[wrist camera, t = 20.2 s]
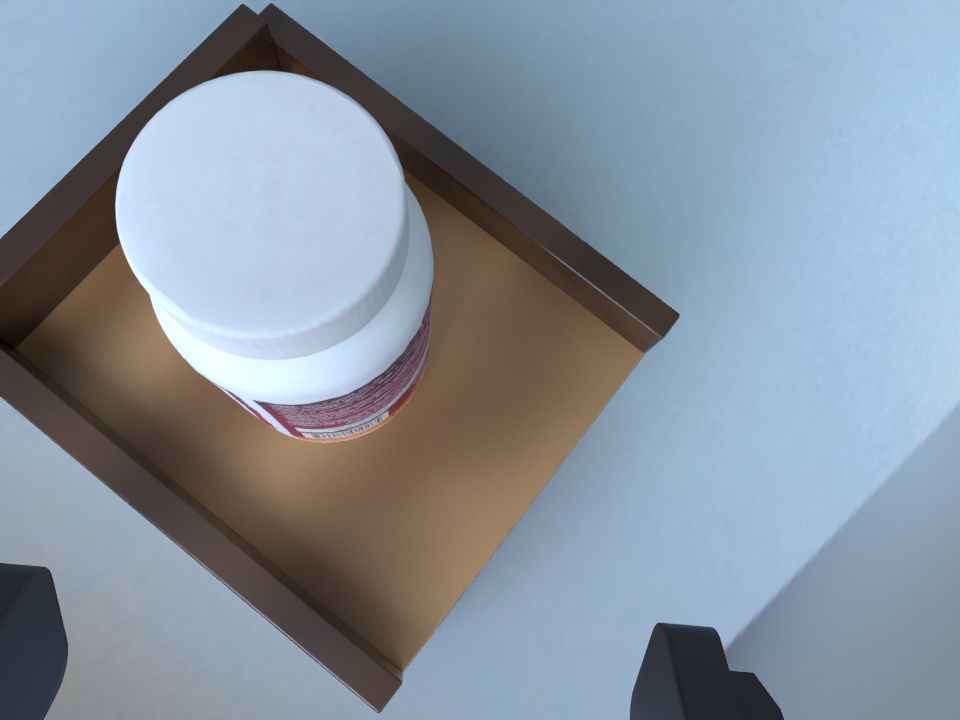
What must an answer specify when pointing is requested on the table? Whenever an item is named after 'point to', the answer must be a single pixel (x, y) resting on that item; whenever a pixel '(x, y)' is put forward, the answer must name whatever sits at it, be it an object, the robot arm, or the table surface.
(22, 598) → the robot arm
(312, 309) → the pill bottle
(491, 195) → the wooden tray box
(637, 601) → the table surface
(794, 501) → the table surface
